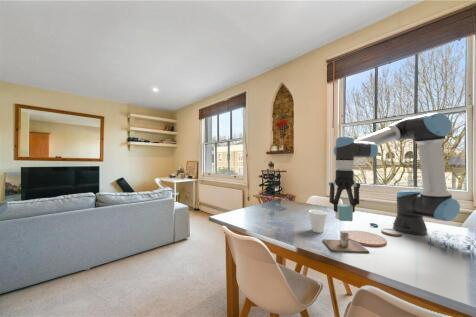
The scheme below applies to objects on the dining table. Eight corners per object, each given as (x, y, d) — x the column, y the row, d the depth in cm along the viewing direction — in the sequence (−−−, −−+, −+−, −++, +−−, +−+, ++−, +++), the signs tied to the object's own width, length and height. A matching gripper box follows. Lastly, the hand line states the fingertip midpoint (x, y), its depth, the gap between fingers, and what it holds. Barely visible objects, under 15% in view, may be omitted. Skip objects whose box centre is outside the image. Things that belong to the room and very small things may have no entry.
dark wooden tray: (355, 242, 100) (355, 227, 100) (369, 253, 89) (369, 237, 89) (322, 240, 102) (322, 227, 102) (331, 251, 90) (331, 236, 90)
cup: (329, 235, 110) (329, 214, 110) (309, 233, 112) (309, 213, 112) (324, 228, 119) (325, 210, 119) (307, 227, 121) (307, 209, 121)
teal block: (347, 217, 98) (347, 204, 98) (352, 221, 93) (352, 206, 93) (335, 217, 98) (336, 204, 98) (340, 220, 93) (340, 206, 93)
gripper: (360, 169, 98) (359, 217, 98) (321, 169, 100) (321, 216, 100) (369, 170, 91) (368, 222, 91) (327, 169, 92) (326, 220, 92)
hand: (343, 218), depth 95 cm, fingers closed on teal block, 5 cm apart
